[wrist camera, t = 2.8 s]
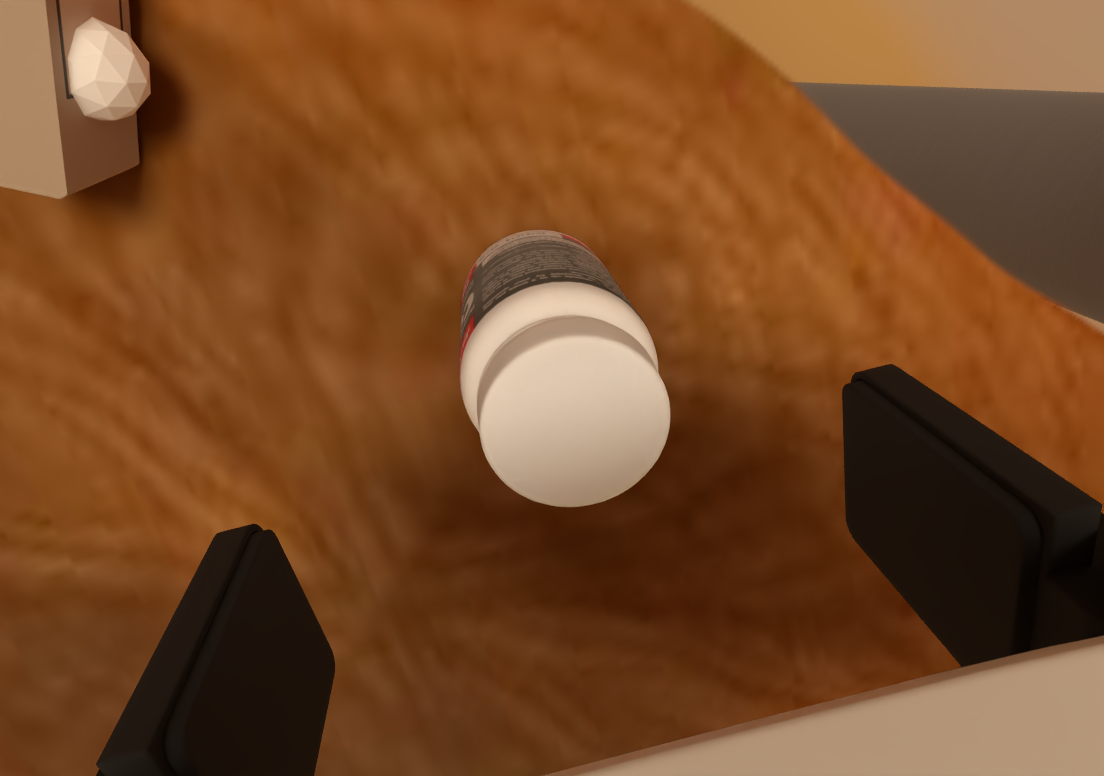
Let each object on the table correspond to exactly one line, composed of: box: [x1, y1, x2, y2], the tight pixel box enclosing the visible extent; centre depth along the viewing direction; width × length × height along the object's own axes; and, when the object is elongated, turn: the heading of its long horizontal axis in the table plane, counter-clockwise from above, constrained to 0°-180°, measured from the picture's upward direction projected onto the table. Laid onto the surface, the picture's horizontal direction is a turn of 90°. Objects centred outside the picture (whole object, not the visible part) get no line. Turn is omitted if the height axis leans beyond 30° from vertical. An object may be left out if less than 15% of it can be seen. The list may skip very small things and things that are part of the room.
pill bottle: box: [460, 230, 670, 507], centre depth 18 cm, size 5×5×8 cm
